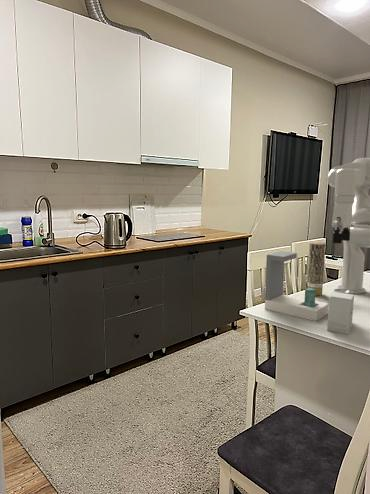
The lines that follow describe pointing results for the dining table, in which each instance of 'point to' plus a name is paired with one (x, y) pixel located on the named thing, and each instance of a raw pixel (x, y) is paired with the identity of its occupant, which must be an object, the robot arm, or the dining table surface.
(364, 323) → the dining table surface
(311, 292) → the peg
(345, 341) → the dining table surface
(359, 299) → the dining table surface
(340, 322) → the supplement box
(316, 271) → the paper tube
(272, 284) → the socket block
